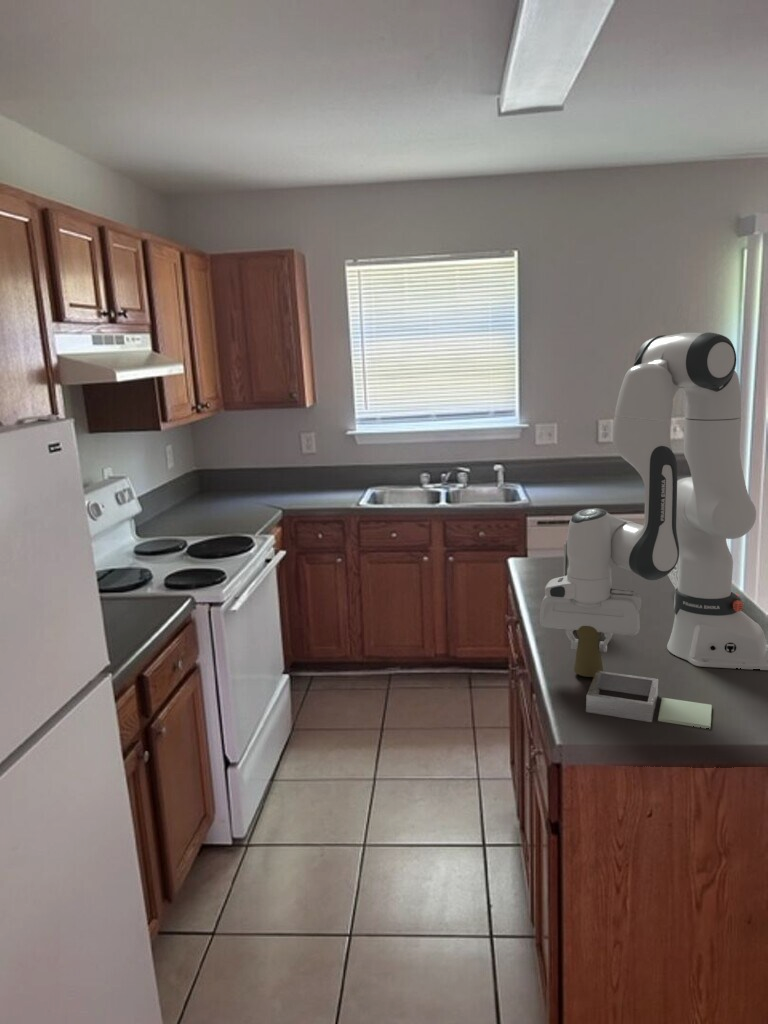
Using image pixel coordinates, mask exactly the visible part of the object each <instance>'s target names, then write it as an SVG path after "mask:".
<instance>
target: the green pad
mask: <svg viewBox="0 0 768 1024" xmlns="http://www.w3.org/2000/svg"><path fill="white" fill-rule="evenodd" d="M712 707H713V705H712V704H710V703H709V704H708V703H702V702H696V701H694V702H693V701H689V700H683V699H682V700H681V699H675V698H674V699H673V698H666V697H661V701H660V707H659V712H658V718H657V722H662V723H669V724H675V725H681V726H689V727H693V726H694V728H700V727H701V728H700V729H706V728H709V729H708V730H711V727H712V726H711V724H712V711H713V710H712Z"/></svg>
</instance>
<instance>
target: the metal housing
mask: <svg viewBox="0 0 768 1024" xmlns="http://www.w3.org/2000/svg"><path fill="white" fill-rule="evenodd" d="M601 690H604V691H609V692H610V691H612V692H619V693H623V694H624V693H625V694H632V695H638V696H645V697H648V698H647V701H643V700H638V699H630V698H623V697H617V696H610V695H603V694H600V691H601ZM658 691H659V679H658V678H653V677H647V676H638V675H630V674H624V673H616V672H609V671H604V670H603V671H596V673H595V675H594V677H592V680H591V683H590V686H589V687H588V691H587V693H586V699H585V700H586V701H585V703H586V704H585V706H586V707H585V713H589V714H590V713H591V714H597V715H602V716H610V717H616V718H622V719H629V720H633V721H634V720H635V721H641V722H647V723H653V719H654V713H655V709H656V705H657V699H658V694H659V693H658Z"/></svg>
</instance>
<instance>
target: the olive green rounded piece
mask: <svg viewBox="0 0 768 1024" xmlns="http://www.w3.org/2000/svg"><path fill="white" fill-rule="evenodd" d="M575 632H576V634H577V637H578V638H577V639H578V649H576V652H575V653H576V654H575V660H574V668H573V671H574V672H575V673H576V674H577V675H579V676H580V677H581V676H582V677H589V678H590V677H591V678H594V675H595V673H596V671H603V672H604V666H603V659H602V652H600V651H599V643H600V637H601V636H602V632H597V630H596V629H595V628H594V627H591V626H581V627H580V628H579V629H578V630H575Z"/></svg>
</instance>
